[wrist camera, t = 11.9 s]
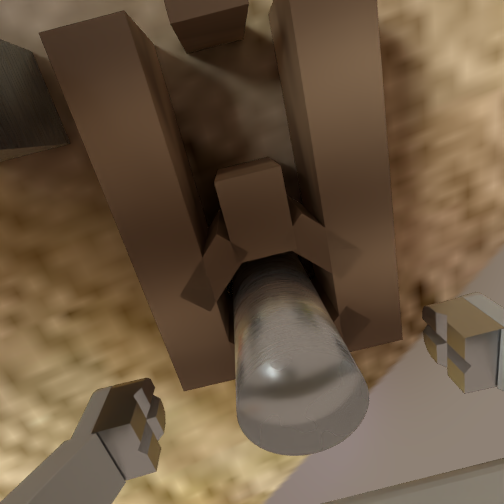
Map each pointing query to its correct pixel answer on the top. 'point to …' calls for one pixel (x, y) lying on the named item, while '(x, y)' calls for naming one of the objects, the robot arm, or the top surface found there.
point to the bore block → (242, 171)
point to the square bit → (25, 106)
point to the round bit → (291, 362)
